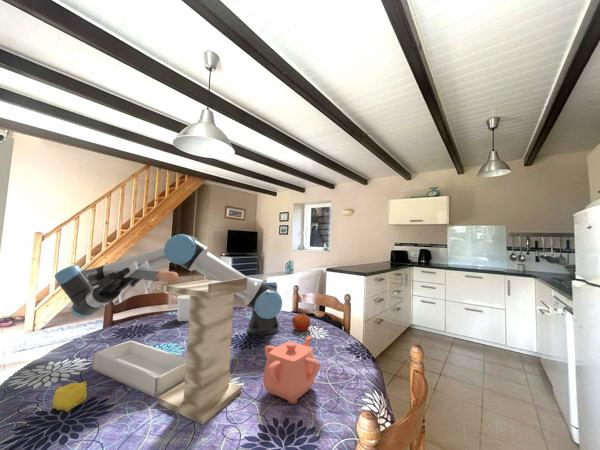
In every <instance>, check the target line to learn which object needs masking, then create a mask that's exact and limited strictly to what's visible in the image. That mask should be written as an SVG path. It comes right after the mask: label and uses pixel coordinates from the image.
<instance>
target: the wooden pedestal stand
mask: <svg viewBox="0 0 600 450" xmlns="http://www.w3.org/2000/svg"><path fill="white" fill-rule="evenodd" d="M246 277H247V276H246ZM246 277H244V278H238V279H233V280H227V281H214V280H212V279H201V280H195V281H188V282H181V283H176V284H175V283H174V284H169V285H168V284H167V285H166V287H165V292H168V293H172V294H178V295H190V296H191V297H190V311H189V321H188V325H187V326H188V329H187V330H188V331H187V342H186V343H187V344H186V345H187V346H186V356H185V358H186V369H185V381H184V382H183V383H181V384H179V385H178V386H176V387H174V388H172V389H171V390H169V391H167V392H166V393H164V394H162V395H161V396H159V397H157V401H156V402H157V404H158V405H160V406H161V407H164V408H166V409H168V410H171V412H175V413H177V414H179V415H181V416H183V417H185V418H187V419H189V420H192V421H194V422H196V423H197V424H199V425H203V426H204V425H205V424H206V423H207V422H208V421H209V420H210V419H211V418H213V417H214V416H215V415H216V414H217V413H219V412H220V411H221V410H222V409H223V408H224V407H226V406H227V405H228V404H229V403H230V402H232V401H233V400H234V399H235V398H237V396H239V395H240V394H241V393H242V388H243V386H242V385H239V384H236V383H233V382H230V370H231V369H230V368H231V367H230V366H231V355H232V354H231V350H232V334H233V333H232V332H233V318H234V317H233V313H234V312H233V311H234V297H235V294H234V293H236V292H240V291H244V290H247V278H246Z"/></svg>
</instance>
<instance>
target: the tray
mask: <svg viewBox="0 0 600 450" xmlns="http://www.w3.org/2000/svg"><path fill="white" fill-rule="evenodd" d="M91 369H92V370H93V371H96V372H98V373H100V374H103V375H105V376H106V377H108V378H111V379H113V380H116V381H118V382H120V383H122V384H124V385H126V386H129V387H131V388H133V389H135V390H137V391H139V392H141V393H144V394H146V395H148V396H151V397H152V398H155V399H158V397H159V396H161V395H163V394H164V393H166V392H168V391H169V390H171V389H173V388H174V387H176V386H178V385H179V384H181V383H183V382H185V369H186V357H184V356H182V355H181V356H180V355H177V354H175V353H171V352H169V351H166V350H162V349H160V348H156V347H153V346H151V345H148V344H144V343H141V342H137V341H134V340H128V341H125V342H122V343H119V344H116V345H112V346H110V347H106V348H104V349H100V350H97V351H95V352H93V354H92V364H91Z"/></svg>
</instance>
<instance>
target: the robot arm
mask: <svg viewBox="0 0 600 450" xmlns="http://www.w3.org/2000/svg"><path fill="white" fill-rule="evenodd" d="M170 263H172V264H175V265H180V266H181V267H183V268H185V269H187V270H188V271H197V272H199V273H200V274H202V275H203V276H205V277H207V278H208V279H209V280H214V281H227V280H233V279H238V278H244V277H246V278H247V290H244V291H240V292H236V293H234V295H236V296H237V297H239V298H241V299H242V300H244V304H245V306H247V307H248V308H249V309H251V310H252V313H251V317H250V319H249V321H248V325H247V331H248V333H250V334H253V335H257V336H264V335H265V336H268V335H269V336H270V335H273V334H276V333H277V332H279V330H280V323H279V320H278V316H277V315H279V313H280V312H281V310H282V308H283V299H282V296H281V295H280V293H279V292H278V283H277V282H275V281H254V280H252V279H251V278H249V277H248V276H246V275H245V274H243V273H242V272H240V271H238V270H237V269H236V268H234V267H232V266H230V265H229V264H228V263H226V262H224V261H223V260H221V259H220V258H218V257H216V256H215V255H214V254H212V253H210V251H209V247H208V246H207V245H205V244H203V243H202V242H200V240H199V239H198V238H197V237H195V236H194V235H192V234H191V235H190V234H189V235H188V234H185V233H178V234H175V235H173V236H171V237H170V238H168V239H167V241H166V243H165V244H164V247H160V248H156V249H154V250H151V251H146V252H143V253H139V254H137V255H133V256H130V257H127V258H124V259H120V260H117V261H113V262H110V263H108V264H104V265H101V266H97V267H94V268H89V269H82V268H81V267H80V265H78V264H73V265H70V266H67V267H65V268H62V269H61V270H59V271H57V272H55V275H54V278H55V280H56V282H57V283H58V285H59V286H60V288H61V289H62V290H63V292H64V293H65V294H66V296H67V297H68V298H69V300H70V301H71V303H72V305H71V313H72V315H74V316H75V317H78V318H81V319H82V318H87V317H90V316H91V315H93V314H95V313H97V312H99V310H101V309H103V308H104V307H106V305H108V304H109V303H110V302H112V301H113V300H115V299H116V298H118V297H119V296H120V294H121V292H122V290H125V289H126V288H127V287H131V288H134V287H136V285H137V284H138V283H139V282H140V281H141V280H142V279H137V278H131V277H129V276H130V275H131V274H133V273H134V272H135V271H137V270H138V269H139V268H147V269H154V268H157V267H160V266H163V265H167V264H170ZM138 267H139V268H138Z"/></svg>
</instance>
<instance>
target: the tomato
mask: <svg viewBox="0 0 600 450" xmlns="http://www.w3.org/2000/svg"><path fill="white" fill-rule="evenodd" d="M292 326H293V328H294V329H295V330H296V331H297V332H306V331H307V330H308V329H309V327H310V326H311V319H310V317H309V316H308V314H305V313H304V312H302V313H301V312H300V313H297V314H295V315H294V316H293V317H292Z"/></svg>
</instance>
